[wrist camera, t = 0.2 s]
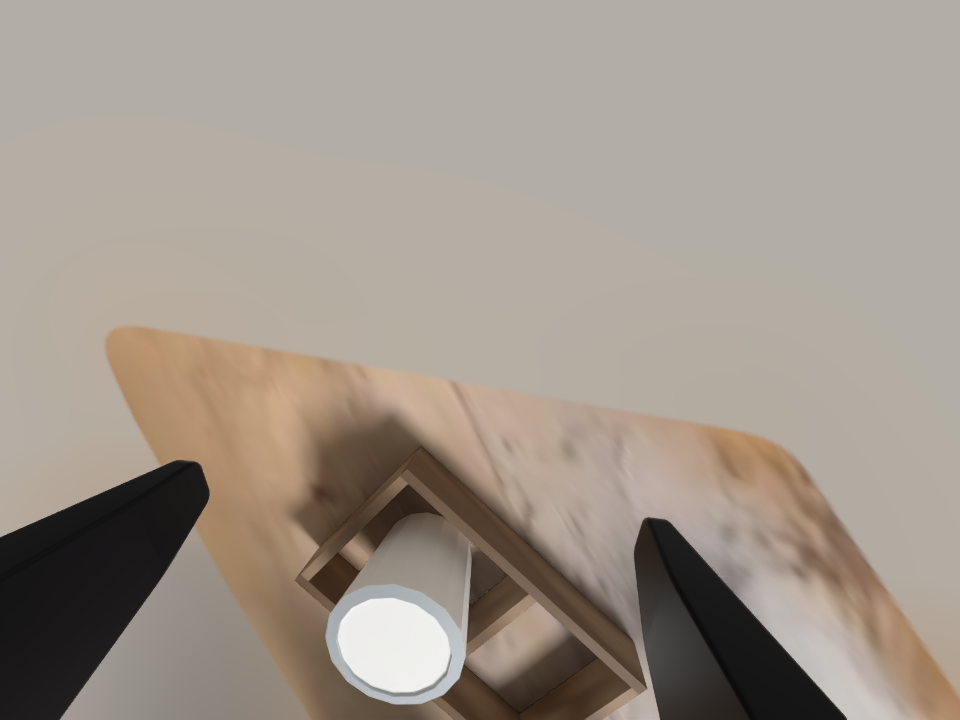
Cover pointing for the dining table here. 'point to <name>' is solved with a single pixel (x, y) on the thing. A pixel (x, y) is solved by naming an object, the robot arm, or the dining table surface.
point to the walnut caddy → (495, 603)
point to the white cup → (406, 614)
